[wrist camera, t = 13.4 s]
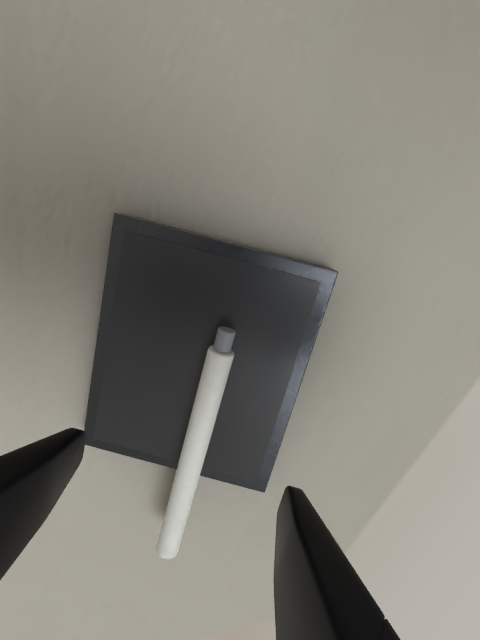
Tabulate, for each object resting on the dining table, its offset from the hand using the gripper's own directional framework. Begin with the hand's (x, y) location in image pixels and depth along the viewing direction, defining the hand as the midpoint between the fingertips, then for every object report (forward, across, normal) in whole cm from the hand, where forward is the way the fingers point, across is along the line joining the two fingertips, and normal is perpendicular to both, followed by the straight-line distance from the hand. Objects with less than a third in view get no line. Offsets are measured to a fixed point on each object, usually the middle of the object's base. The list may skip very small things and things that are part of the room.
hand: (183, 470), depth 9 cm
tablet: (+8, +1, 0) cm, 8 cm away
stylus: (+6, 0, -2) cm, 6 cm away
